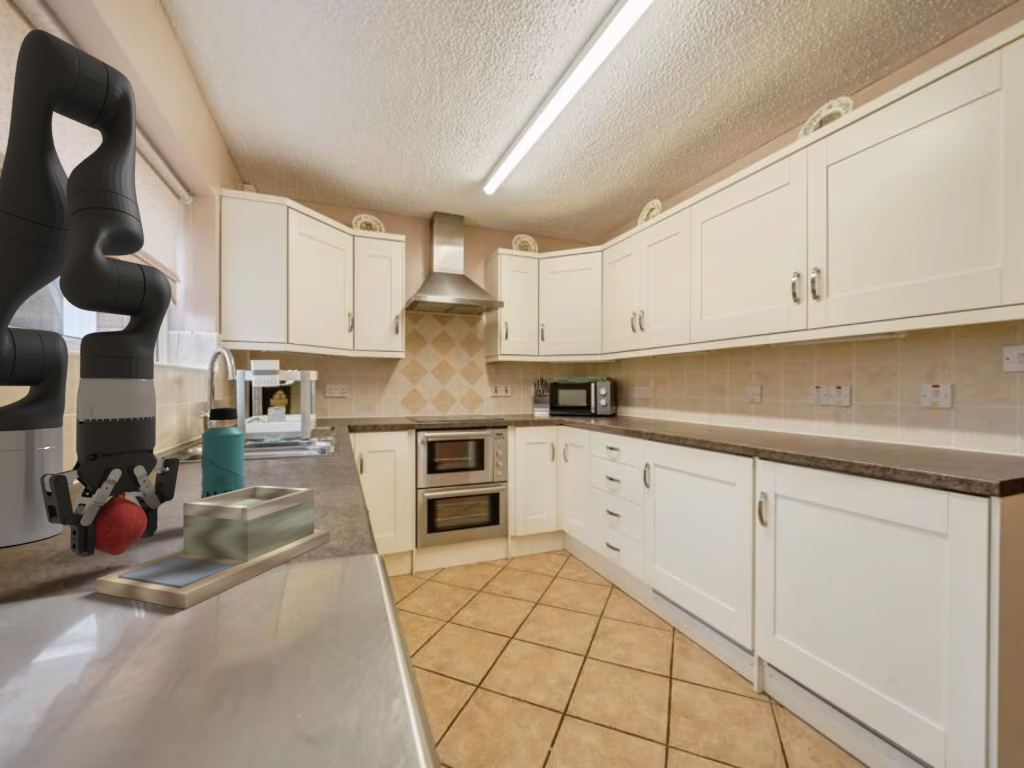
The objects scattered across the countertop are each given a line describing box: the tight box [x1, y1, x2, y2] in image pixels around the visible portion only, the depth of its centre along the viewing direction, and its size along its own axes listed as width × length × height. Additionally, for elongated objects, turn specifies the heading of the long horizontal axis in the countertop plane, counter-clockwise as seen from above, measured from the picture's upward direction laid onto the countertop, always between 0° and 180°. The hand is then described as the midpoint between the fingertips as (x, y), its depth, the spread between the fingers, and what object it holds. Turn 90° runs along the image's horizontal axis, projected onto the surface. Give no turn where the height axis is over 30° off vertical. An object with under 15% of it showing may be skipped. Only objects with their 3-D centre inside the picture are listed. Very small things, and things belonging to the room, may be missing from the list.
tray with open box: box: [95, 484, 331, 610], centre depth 56 cm, size 14×21×8 cm, turn 162°
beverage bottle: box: [200, 407, 245, 499], centre depth 75 cm, size 6×7×20 cm
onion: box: [91, 492, 147, 556], centre depth 55 cm, size 6×6×8 cm
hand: (116, 545), depth 55 cm, fingers closed on onion, 6 cm apart
